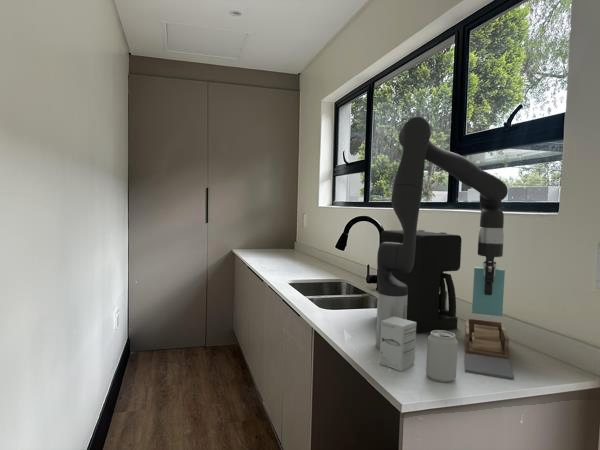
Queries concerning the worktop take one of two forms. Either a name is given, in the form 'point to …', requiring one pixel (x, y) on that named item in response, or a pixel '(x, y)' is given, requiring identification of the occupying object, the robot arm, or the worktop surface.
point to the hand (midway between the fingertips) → (487, 293)
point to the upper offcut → (486, 333)
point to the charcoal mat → (488, 366)
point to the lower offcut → (485, 345)
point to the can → (441, 356)
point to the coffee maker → (430, 279)
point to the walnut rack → (468, 349)
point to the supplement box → (397, 343)
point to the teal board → (488, 302)
